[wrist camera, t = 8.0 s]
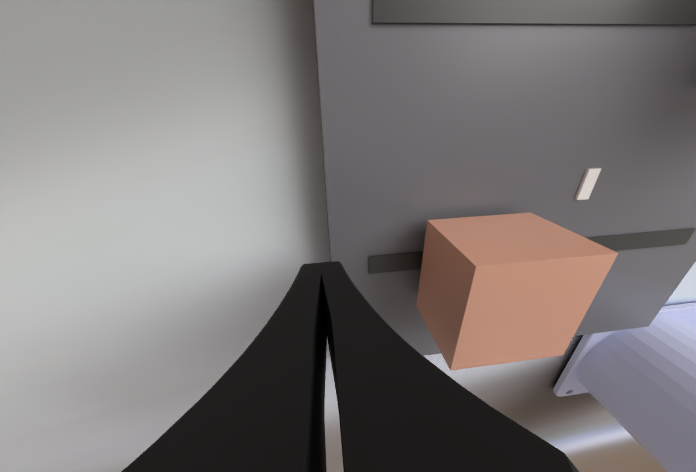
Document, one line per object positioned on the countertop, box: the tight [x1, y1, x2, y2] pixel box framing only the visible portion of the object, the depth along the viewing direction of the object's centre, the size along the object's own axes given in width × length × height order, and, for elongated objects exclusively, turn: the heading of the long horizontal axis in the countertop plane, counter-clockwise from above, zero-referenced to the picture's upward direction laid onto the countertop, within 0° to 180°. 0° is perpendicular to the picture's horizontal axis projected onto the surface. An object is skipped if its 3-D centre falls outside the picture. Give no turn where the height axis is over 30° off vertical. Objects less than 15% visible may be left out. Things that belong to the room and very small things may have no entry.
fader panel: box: [313, 0, 696, 356], centre depth 10 cm, size 18×20×2 cm
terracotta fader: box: [416, 212, 618, 370], centre depth 9 cm, size 4×4×3 cm
